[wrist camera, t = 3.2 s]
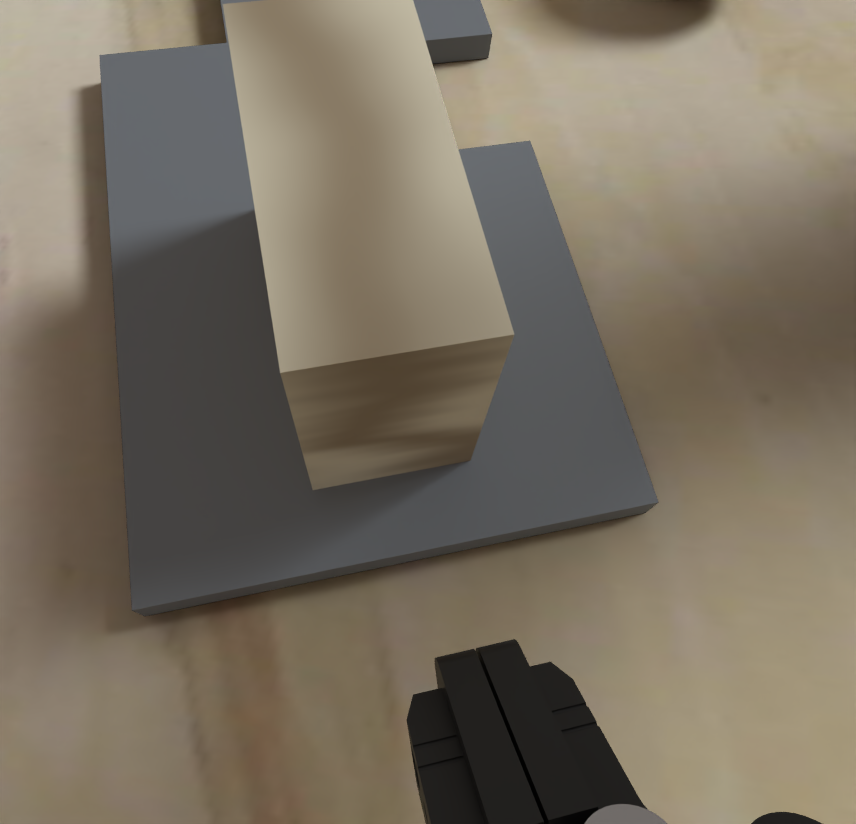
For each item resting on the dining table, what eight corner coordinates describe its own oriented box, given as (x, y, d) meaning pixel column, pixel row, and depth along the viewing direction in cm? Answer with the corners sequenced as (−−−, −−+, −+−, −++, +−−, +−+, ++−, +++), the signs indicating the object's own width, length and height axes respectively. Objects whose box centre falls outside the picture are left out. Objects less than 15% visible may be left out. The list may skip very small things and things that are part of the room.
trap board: (400, -196, 39) (402, -265, 36) (645, 512, 24) (680, 484, 21) (93, -180, 37) (69, -253, 34) (144, 616, 21) (110, 600, 19)
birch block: (400, 188, 27) (409, -13, 20) (470, 460, 23) (514, 334, 15) (266, 206, 26) (222, 3, 19) (313, 490, 22) (280, 372, 15)
